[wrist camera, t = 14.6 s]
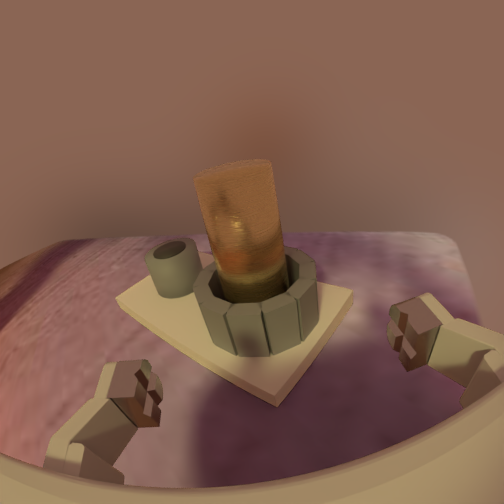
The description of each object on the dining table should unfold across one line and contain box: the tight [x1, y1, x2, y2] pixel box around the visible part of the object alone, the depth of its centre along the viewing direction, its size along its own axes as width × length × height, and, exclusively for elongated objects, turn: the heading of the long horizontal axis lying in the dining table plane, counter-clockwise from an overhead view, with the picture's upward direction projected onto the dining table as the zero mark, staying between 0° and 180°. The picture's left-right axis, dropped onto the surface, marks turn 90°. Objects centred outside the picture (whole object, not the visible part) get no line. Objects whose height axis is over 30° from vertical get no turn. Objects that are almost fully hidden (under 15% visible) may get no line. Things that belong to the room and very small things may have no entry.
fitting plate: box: [116, 238, 353, 407], centre depth 26 cm, size 22×12×6 cm, turn 52°
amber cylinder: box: [193, 159, 289, 304], centre depth 20 cm, size 5×5×12 cm
